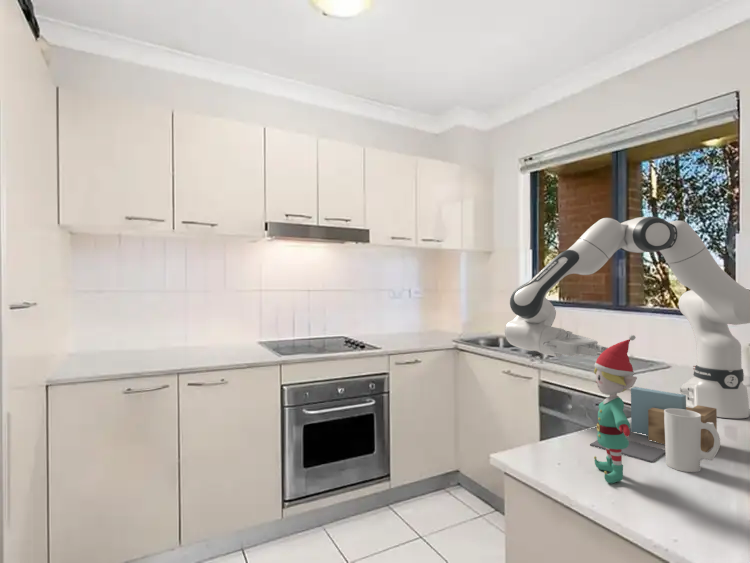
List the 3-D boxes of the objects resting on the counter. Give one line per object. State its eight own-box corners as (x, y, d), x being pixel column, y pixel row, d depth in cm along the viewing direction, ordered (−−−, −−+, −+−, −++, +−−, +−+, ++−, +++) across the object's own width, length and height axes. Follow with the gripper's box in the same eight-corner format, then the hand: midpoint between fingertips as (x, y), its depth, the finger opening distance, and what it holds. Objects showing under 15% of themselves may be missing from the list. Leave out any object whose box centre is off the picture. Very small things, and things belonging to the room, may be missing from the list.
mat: (590, 445, 112) (590, 443, 112) (607, 436, 118) (607, 435, 118) (651, 462, 101) (651, 460, 101) (667, 451, 107) (667, 450, 107)
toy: (586, 459, 103) (584, 330, 103) (623, 462, 101) (621, 330, 101) (608, 494, 86) (606, 339, 86) (653, 497, 84) (651, 340, 84)
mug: (661, 466, 98) (660, 412, 99) (668, 458, 103) (667, 406, 103) (718, 480, 91) (717, 422, 91) (722, 470, 96) (722, 415, 96)
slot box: (648, 440, 115) (648, 405, 115) (663, 432, 121) (662, 399, 121) (704, 454, 105) (703, 416, 106) (716, 444, 112) (716, 408, 112)
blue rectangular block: (631, 432, 121) (630, 388, 121) (635, 430, 123) (635, 386, 123) (682, 444, 112) (682, 397, 112) (686, 441, 114) (686, 395, 114)
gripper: (541, 332, 130) (590, 342, 120) (569, 330, 144) (615, 339, 134) (538, 354, 130) (587, 365, 120) (567, 350, 144) (612, 360, 134)
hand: (602, 351), depth 127 cm, fingers open, 8 cm apart
